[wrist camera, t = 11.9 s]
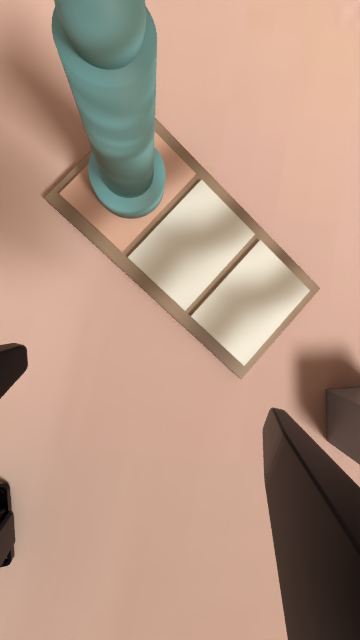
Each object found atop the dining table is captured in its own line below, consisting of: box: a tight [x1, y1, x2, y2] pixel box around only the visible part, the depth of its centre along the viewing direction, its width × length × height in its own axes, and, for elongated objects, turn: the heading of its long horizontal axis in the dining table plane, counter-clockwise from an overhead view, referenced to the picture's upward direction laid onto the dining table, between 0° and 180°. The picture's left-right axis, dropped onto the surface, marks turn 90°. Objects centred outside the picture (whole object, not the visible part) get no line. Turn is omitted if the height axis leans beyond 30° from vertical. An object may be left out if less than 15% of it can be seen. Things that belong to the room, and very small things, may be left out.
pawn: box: [52, 0, 166, 219], centre depth 13 cm, size 6×6×13 cm
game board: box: [44, 118, 320, 379], centre depth 21 cm, size 22×11×1 cm, turn 47°
